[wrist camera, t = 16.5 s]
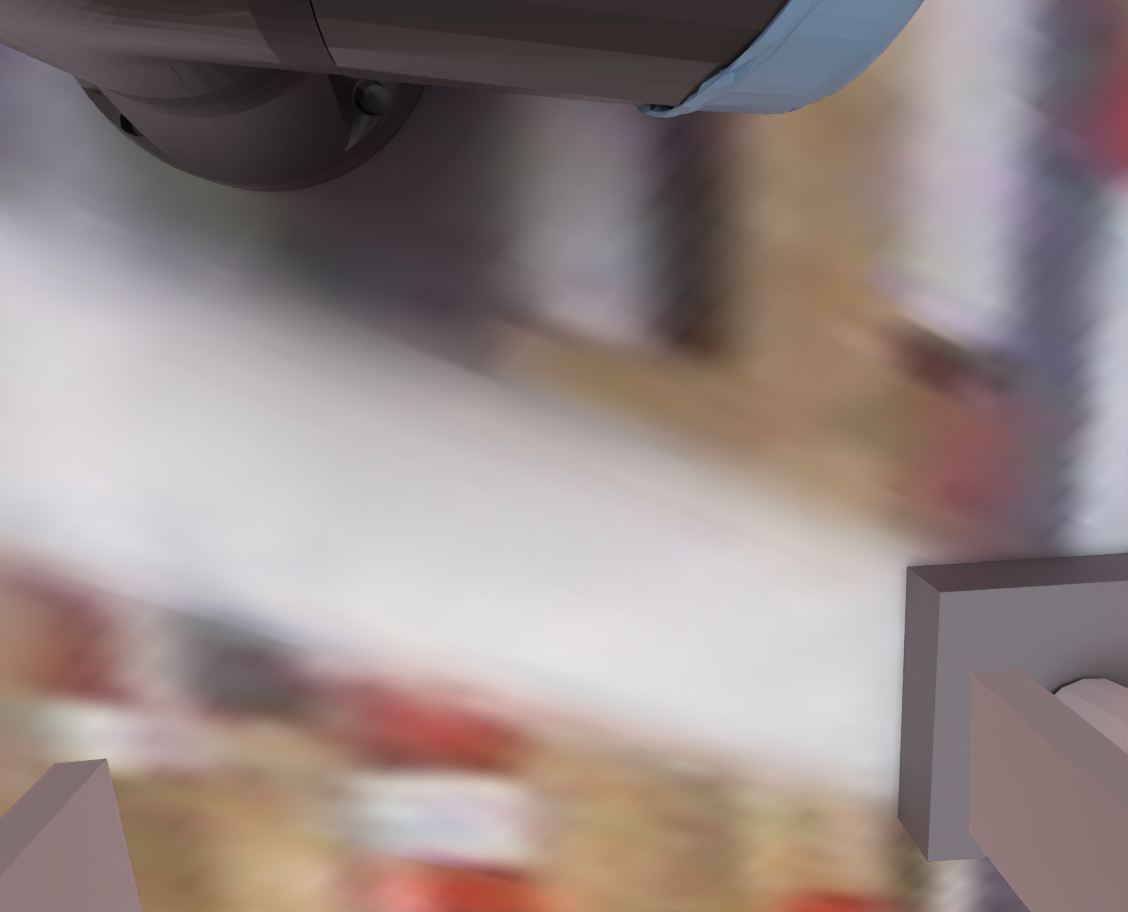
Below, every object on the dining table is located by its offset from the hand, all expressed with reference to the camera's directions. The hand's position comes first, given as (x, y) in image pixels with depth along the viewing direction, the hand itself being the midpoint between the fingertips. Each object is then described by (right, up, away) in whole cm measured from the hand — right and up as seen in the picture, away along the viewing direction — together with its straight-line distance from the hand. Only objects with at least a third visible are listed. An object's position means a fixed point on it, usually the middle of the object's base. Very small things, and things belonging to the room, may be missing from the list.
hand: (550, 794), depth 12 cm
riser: (+25, -7, +30) cm, 39 cm away
